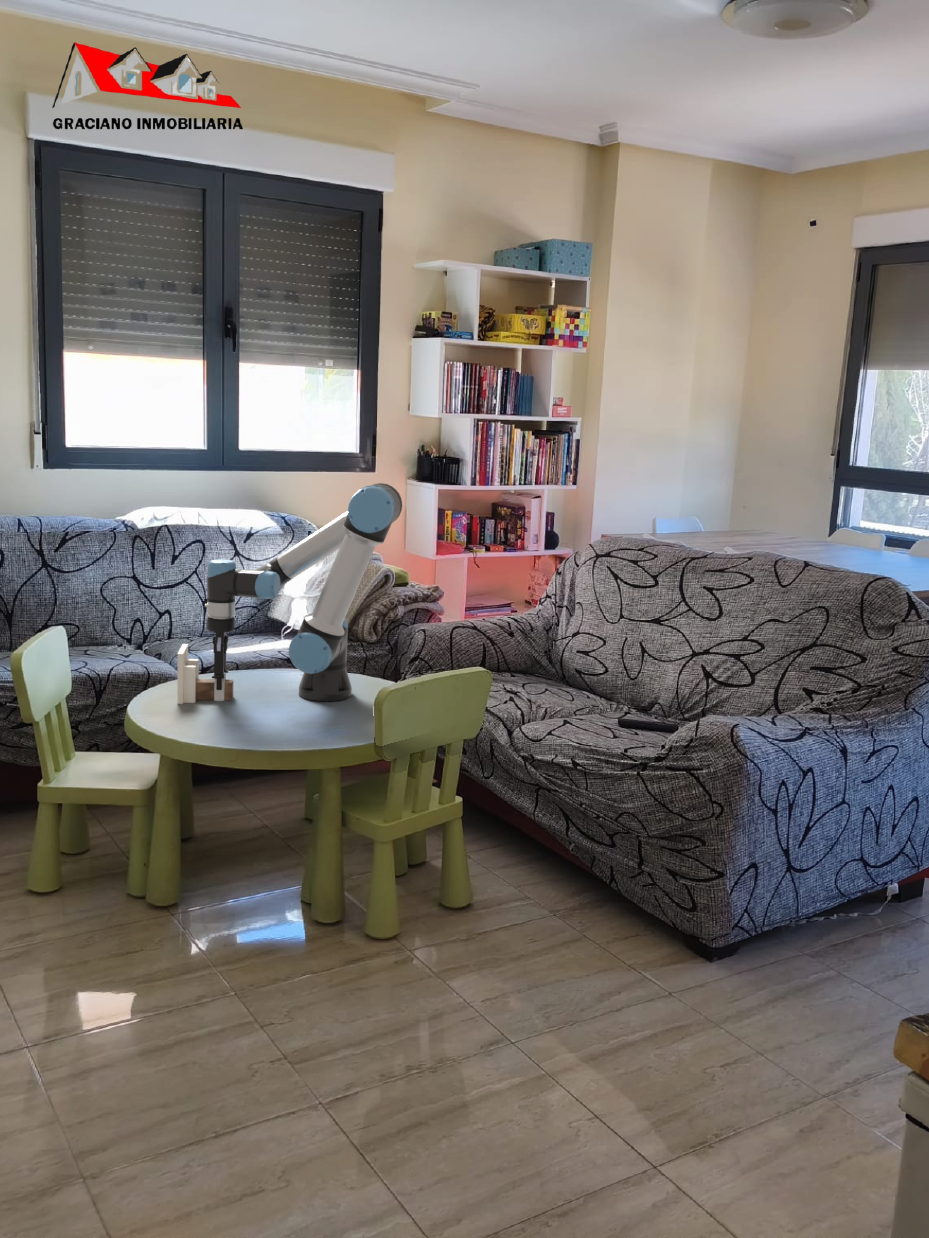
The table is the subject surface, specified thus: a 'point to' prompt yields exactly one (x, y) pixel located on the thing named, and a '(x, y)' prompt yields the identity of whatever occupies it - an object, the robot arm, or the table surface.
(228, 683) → the brown rectangular block
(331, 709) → the table surface
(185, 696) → the white twin-rail base
